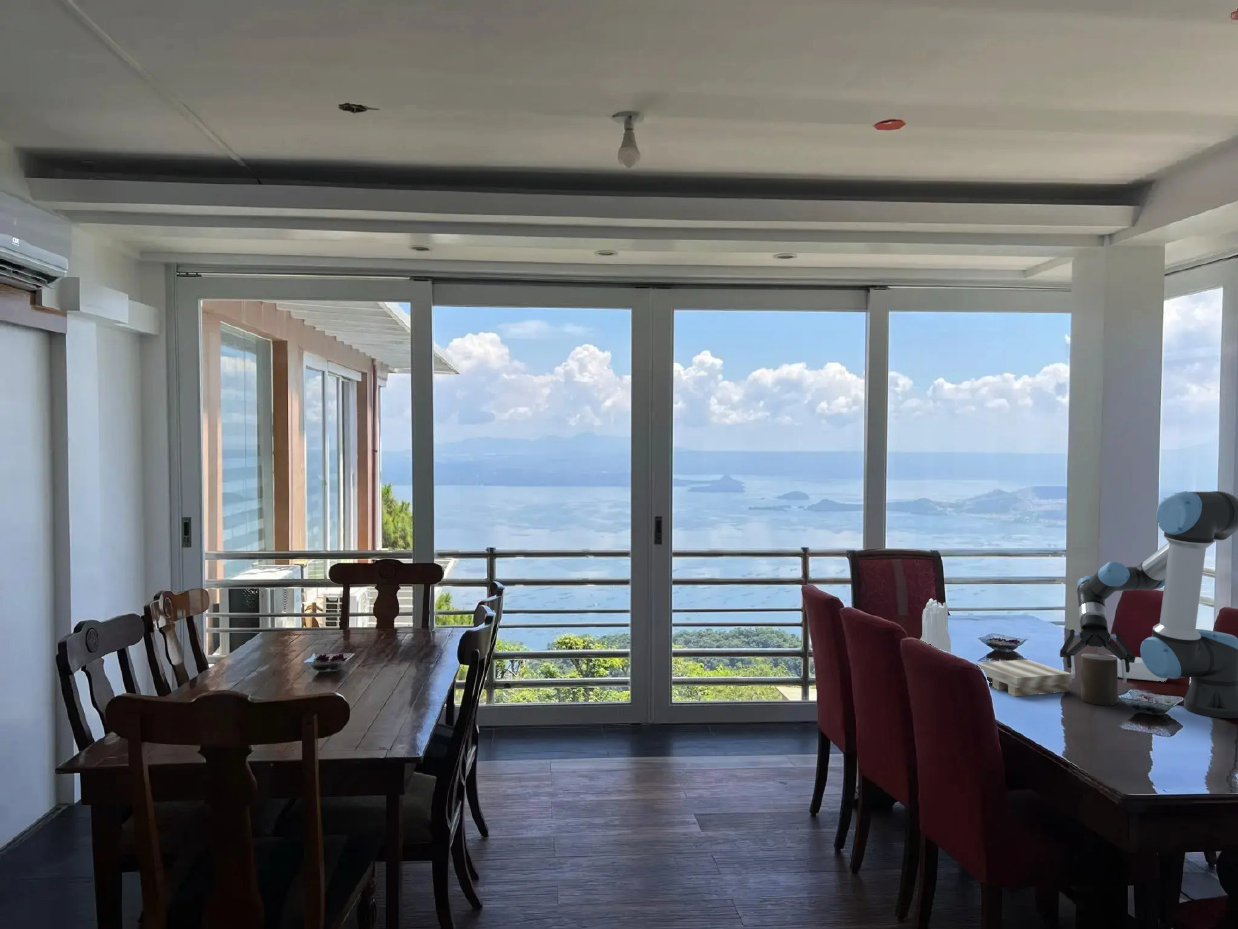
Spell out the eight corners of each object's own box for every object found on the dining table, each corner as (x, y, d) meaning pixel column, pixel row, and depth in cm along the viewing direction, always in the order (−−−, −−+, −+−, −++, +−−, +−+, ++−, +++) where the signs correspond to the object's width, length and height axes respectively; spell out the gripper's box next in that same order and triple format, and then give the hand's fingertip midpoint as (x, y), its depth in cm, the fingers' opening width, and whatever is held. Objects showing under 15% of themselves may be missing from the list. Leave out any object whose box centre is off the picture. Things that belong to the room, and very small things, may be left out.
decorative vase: (953, 676, 284) (952, 603, 284) (919, 674, 288) (919, 601, 288) (951, 668, 295) (950, 598, 295) (919, 666, 298) (918, 597, 298)
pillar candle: (1103, 707, 247) (1103, 657, 247) (1073, 699, 256) (1073, 650, 256) (1125, 703, 251) (1125, 654, 251) (1095, 695, 260) (1095, 647, 260)
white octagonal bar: (1086, 665, 282) (1171, 673, 271) (1085, 651, 288) (1168, 658, 276) (1086, 682, 285) (1170, 690, 274) (1085, 667, 291) (1167, 675, 279)
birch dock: (1027, 677, 282) (1027, 659, 282) (1072, 692, 263) (1071, 673, 263) (975, 681, 278) (975, 663, 278) (1017, 697, 258) (1016, 678, 258)
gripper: (1137, 629, 263) (1145, 689, 249) (1049, 624, 273) (1052, 681, 259) (1140, 616, 258) (1148, 675, 244) (1049, 610, 268) (1053, 668, 255)
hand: (1099, 678), depth 252 cm, fingers open, 13 cm apart
